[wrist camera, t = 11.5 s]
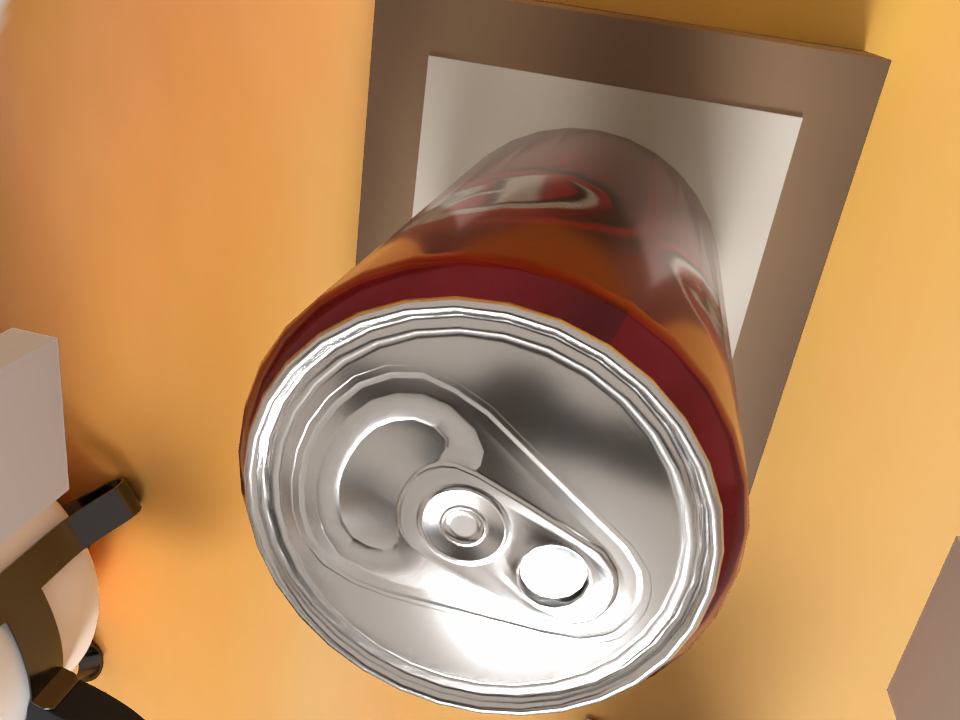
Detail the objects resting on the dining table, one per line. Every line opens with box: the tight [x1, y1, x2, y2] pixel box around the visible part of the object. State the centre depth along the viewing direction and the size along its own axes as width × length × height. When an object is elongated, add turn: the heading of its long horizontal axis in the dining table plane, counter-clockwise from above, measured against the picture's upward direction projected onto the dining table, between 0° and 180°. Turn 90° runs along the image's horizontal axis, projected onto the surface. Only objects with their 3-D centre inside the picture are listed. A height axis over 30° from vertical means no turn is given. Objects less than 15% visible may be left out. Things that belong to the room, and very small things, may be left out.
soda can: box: [238, 128, 749, 716], centre depth 17 cm, size 7×7×12 cm
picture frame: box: [356, 0, 891, 496], centre depth 23 cm, size 12×12×3 cm
